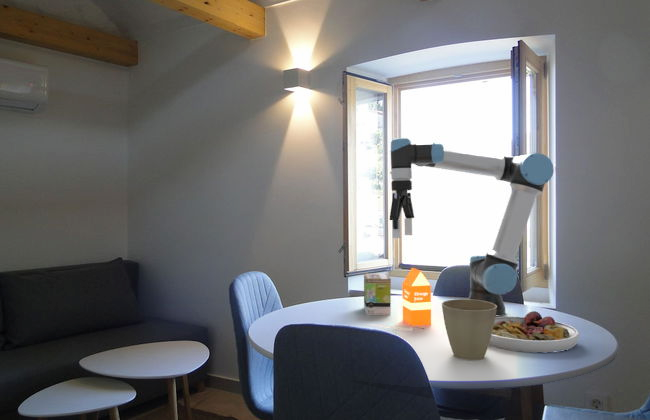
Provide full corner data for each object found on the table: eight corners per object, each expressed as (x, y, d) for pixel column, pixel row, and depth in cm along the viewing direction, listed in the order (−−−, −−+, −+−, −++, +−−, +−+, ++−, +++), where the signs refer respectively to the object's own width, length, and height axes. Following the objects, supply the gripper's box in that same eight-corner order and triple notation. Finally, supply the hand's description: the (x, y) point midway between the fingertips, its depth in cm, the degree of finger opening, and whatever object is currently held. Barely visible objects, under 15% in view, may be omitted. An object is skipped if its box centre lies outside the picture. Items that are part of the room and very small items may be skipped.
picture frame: (424, 329, 178) (424, 327, 178) (410, 343, 162) (410, 341, 162) (360, 323, 189) (360, 321, 189) (340, 335, 172) (340, 333, 172)
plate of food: (572, 364, 141) (572, 336, 140) (464, 349, 157) (463, 323, 156) (583, 338, 166) (583, 314, 166) (489, 327, 182) (489, 305, 182)
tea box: (391, 315, 200) (391, 278, 200) (365, 316, 201) (365, 278, 200) (387, 307, 215) (387, 272, 215) (363, 307, 216) (363, 272, 215)
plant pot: (437, 365, 141) (436, 307, 140) (447, 350, 154) (447, 297, 154) (494, 372, 135) (494, 312, 134) (499, 355, 148) (499, 301, 148)
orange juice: (411, 327, 183) (410, 271, 182) (402, 321, 191) (401, 267, 191) (431, 325, 184) (431, 270, 184) (422, 320, 193) (421, 267, 192)
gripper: (402, 181, 205) (404, 233, 206) (379, 179, 183) (381, 239, 183) (421, 180, 202) (422, 234, 202) (399, 178, 179) (401, 239, 180)
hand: (402, 236), depth 193 cm, fingers open, 13 cm apart
